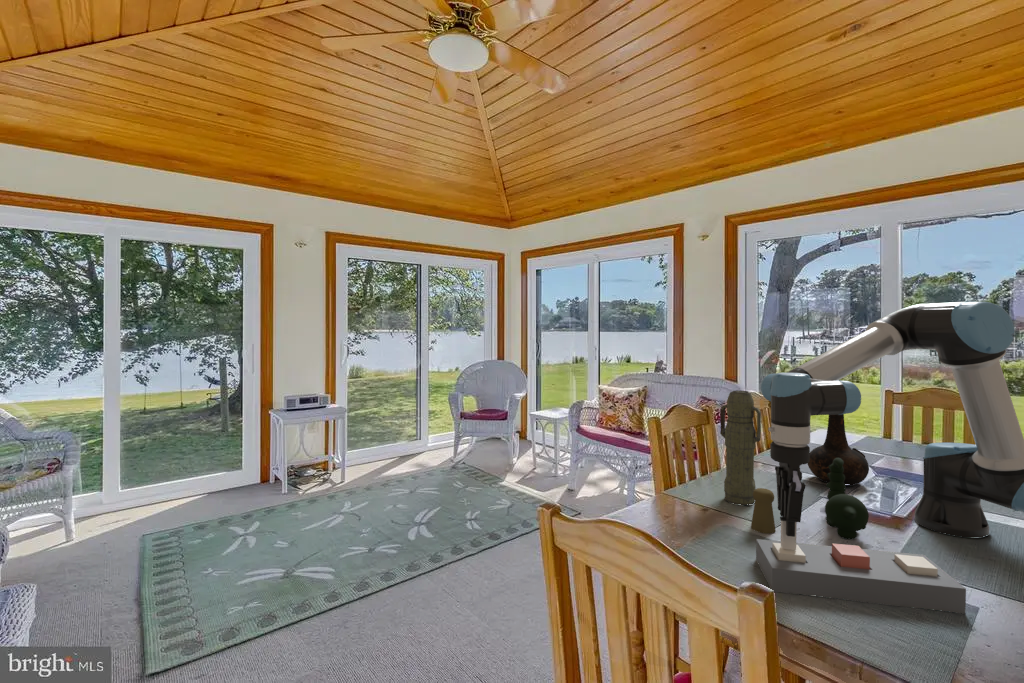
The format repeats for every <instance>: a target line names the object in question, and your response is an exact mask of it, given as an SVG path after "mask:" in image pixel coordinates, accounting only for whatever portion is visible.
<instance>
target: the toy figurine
mask: <svg viewBox="0 0 1024 683" xmlns="http://www.w3.org/2000/svg"><path fill="white" fill-rule="evenodd" d="M843 464H844V461H843V460H842V459H841V458H835V459H834V460H833V463H832V464H831V465H829V466H828V467H829V469H830V471H831V472H830V473H828V474H827V477H828V478H829V479H830V482H829V483H827V482H826V488H827V489H829V491H828V492H827V496H826V498H827V499H828V500H827V501H826V503H825V506H824V512H825V520H826V524H827V526H829V527H830V528H831V527H832V528H836V529H837V530H836V531H837V532H836V533H837V535H838V537H840V539H841V538H842V539H846V540H855V539H857V537H858V533H857V532H858V531H862V530H865V529H866V528H867V524H868V523H869V518H870V514H869V511H868V508H867V507H866V505H865V504H864V503H863V501H861V499H859V498H857V497H855V496H854V495H851V494H847V493H846V490H847V488H846V487H847V486H845V484H844V483H843V482H844V480H845V476H844V474H843V472H844V468H843Z"/></svg>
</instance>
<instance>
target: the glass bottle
mask: <svg viewBox="0 0 1024 683" xmlns="http://www.w3.org/2000/svg"><path fill="white" fill-rule="evenodd" d="M845 426H846V425H845V414H842V415H838V414H836V415H828V418H827V431H826V436H825V440H824V443H823V444H822V445H819V446H817V447H814V448H813V449H812V450H811V451H810V461H809V463H807V465H808V468H809V470H810V471H811V474H813V475H814V476H815V477H816V478H817V479H819V480H820V481H822V482H823V483H826V484H827V483H829V482H830V479H829V478H828V477H827V474H828V473H830V472H831V471H830V469H829V467H828V466H829V465H831V464H832V463H833V460H834V459H835V458H841V459H842V460H843V461H844V464H843V468H844V472H843V474H844V476H845V480H844V482H843V483H844V484H850V485H851V486H855V485H858V484H861V482H863V481H864V480H865V479H866V478H867V476H868V475H869V472H870V465H869V462H868V460H867V458H866V455H865V454H864V453H863V452H862V451H860V450H859V449H857V448H855V447H852V448H851V447H850V445H849V442H848V440H847V439H848V438H847V434H846V429H845V428H846V427H845Z"/></svg>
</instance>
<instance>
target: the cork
mask: <svg viewBox="0 0 1024 683" xmlns="http://www.w3.org/2000/svg"><path fill="white" fill-rule="evenodd" d="M753 498H754V501H755V503H754V505H753V513H752V518H751V524H750V528H751V530H753V531H754V530H755V532H757V533H761V534H765V535H767V534H768V535H769V534H770V535H771V534H775V533H776V524H775V516H774V508H773V502H774V501H775V494H774V493H773V491H772V490H771V489H768V488H763V487H758V488H757V487H756V488H755V490H754V491H753Z"/></svg>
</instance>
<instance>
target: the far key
mask: <svg viewBox="0 0 1024 683" xmlns="http://www.w3.org/2000/svg"><path fill="white" fill-rule="evenodd" d="M772 552H773V553H774V555H775V557H776V558H777V560H781V561H791V562H800V563H806V556H805V554H804V553H803V551H802V550H801V549H800V547H799V546H798V545H796V550H789V549H782V547H781V543H772Z"/></svg>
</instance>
